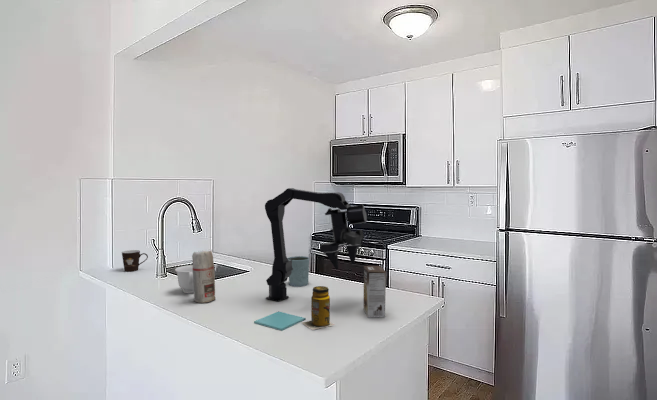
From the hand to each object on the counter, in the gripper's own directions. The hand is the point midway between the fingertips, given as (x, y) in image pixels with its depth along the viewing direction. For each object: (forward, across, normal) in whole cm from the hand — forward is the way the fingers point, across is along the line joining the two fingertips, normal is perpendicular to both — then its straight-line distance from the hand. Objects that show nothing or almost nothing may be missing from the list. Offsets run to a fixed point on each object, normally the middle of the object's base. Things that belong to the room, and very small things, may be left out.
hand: (345, 266), depth 150 cm
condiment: (+14, -23, -5) cm, 27 cm away
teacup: (+5, -33, +59) cm, 68 cm away
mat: (+12, -30, +5) cm, 32 cm away
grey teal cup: (+11, +7, +37) cm, 39 cm away
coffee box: (+16, -1, -12) cm, 20 cm away
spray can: (+7, -35, +45) cm, 57 cm away
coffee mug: (-2, -34, +118) cm, 123 cm away
